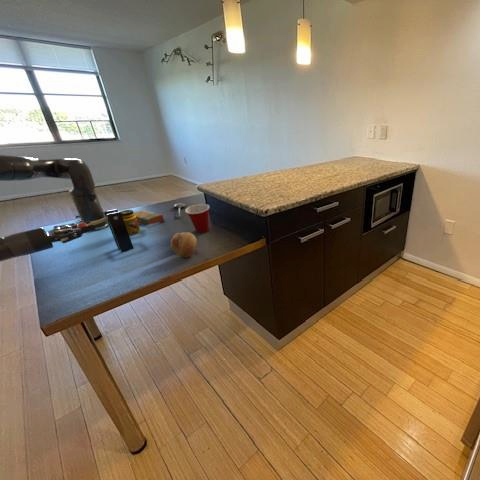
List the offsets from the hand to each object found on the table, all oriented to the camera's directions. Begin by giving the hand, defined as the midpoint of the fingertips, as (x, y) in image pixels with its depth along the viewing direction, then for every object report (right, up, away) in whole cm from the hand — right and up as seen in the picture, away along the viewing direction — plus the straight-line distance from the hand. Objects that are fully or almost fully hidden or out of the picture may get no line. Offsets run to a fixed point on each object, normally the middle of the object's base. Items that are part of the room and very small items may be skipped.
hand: (92, 225), depth 98 cm
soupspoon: (+4, +11, +53) cm, 54 cm away
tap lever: (+1, 0, +2) cm, 2 cm away
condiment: (-3, -4, +25) cm, 25 cm away
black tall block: (+4, -10, +11) cm, 16 cm away
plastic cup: (+28, -1, +30) cm, 41 cm away
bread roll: (+29, -10, +12) cm, 33 cm away
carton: (-6, +4, +40) cm, 40 cm away
